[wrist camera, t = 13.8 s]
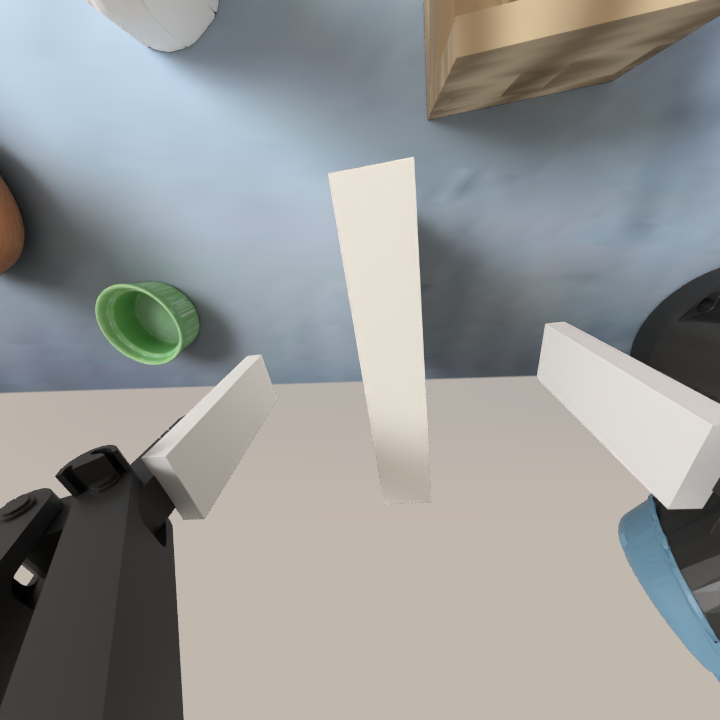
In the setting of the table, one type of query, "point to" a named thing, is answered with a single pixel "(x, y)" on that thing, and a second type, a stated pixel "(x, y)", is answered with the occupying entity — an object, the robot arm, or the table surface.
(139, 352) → the ramekin
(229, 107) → the table surface
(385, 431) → the white board
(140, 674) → the robot arm
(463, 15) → the pine rack
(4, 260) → the ceramic jug
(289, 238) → the table surface
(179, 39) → the decorative vase
